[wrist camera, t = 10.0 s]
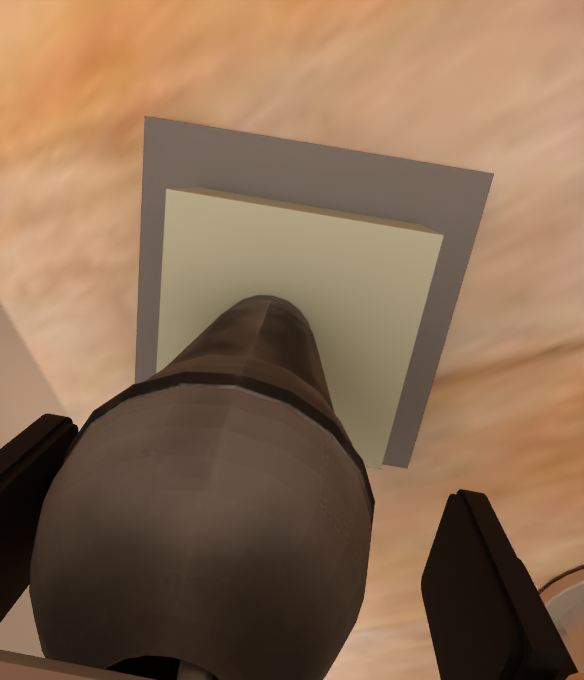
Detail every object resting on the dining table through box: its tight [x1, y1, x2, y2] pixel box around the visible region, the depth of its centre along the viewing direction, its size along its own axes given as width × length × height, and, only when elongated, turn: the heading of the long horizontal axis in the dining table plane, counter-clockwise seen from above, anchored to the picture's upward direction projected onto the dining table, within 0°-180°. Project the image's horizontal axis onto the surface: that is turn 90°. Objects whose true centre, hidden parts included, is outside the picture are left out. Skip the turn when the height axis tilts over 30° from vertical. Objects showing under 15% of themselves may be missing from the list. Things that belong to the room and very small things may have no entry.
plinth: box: [135, 116, 494, 469], centre depth 24 cm, size 18×18×6 cm
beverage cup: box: [29, 295, 375, 680], centre depth 12 cm, size 7×7×20 cm
